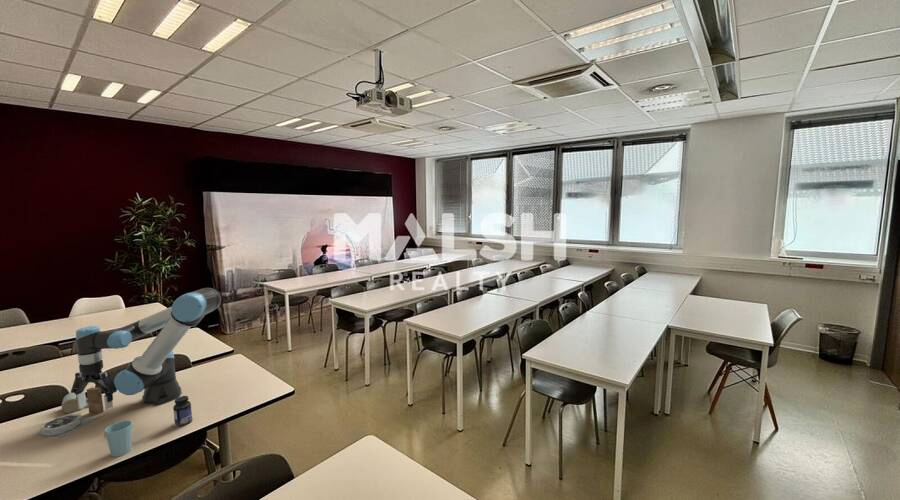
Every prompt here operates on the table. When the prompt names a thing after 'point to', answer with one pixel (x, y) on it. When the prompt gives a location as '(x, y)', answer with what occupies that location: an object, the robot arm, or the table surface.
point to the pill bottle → (182, 411)
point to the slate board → (83, 421)
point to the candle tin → (61, 425)
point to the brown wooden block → (95, 400)
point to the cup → (119, 438)
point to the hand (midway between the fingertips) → (95, 407)
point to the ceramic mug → (71, 403)
